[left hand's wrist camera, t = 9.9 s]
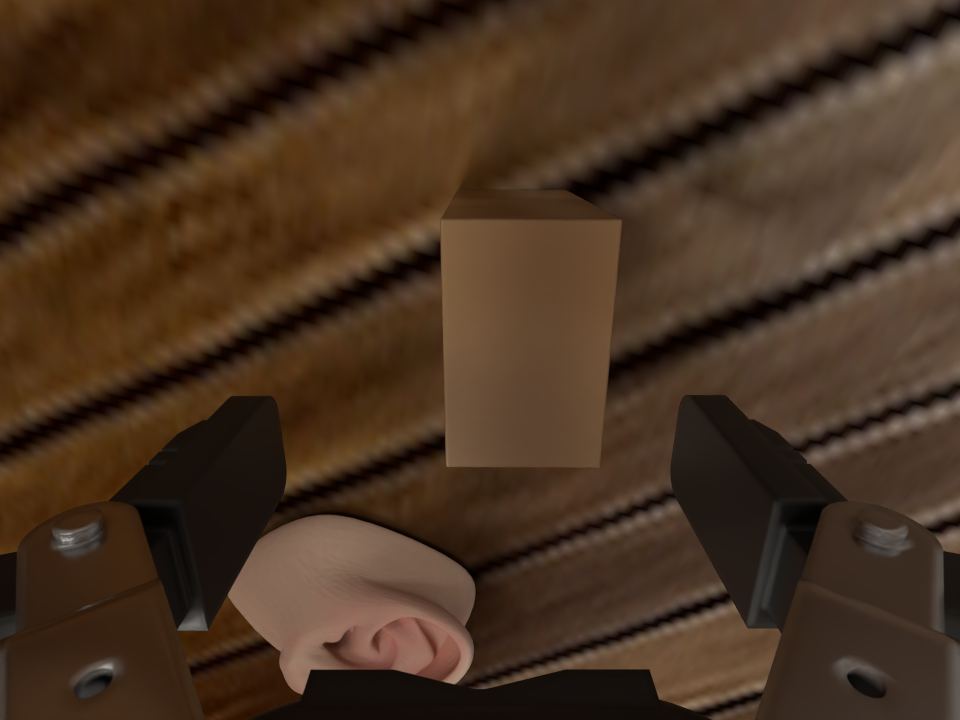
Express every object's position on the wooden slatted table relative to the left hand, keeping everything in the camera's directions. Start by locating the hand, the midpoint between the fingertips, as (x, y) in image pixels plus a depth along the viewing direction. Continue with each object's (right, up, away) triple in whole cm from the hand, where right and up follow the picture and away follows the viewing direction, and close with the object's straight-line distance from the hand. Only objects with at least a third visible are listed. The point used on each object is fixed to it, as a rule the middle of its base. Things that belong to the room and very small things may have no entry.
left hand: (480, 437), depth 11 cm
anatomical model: (-7, -12, +21) cm, 25 cm away
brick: (+1, +5, +14) cm, 15 cm away
